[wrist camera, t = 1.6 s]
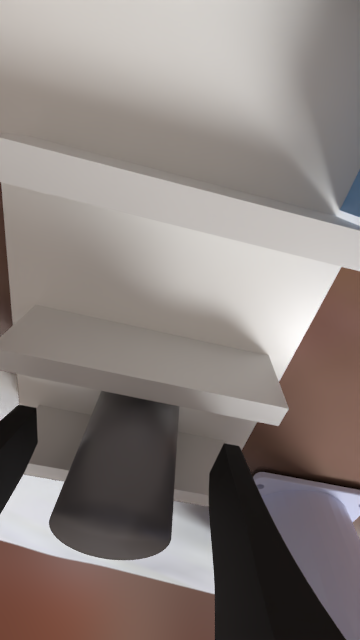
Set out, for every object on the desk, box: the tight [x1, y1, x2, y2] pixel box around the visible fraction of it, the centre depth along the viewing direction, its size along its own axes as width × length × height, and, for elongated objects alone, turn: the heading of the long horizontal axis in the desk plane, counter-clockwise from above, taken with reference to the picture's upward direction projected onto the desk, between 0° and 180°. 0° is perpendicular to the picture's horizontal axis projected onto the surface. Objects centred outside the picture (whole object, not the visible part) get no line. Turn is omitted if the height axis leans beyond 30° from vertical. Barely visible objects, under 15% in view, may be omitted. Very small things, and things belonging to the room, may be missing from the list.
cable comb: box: [0, 0, 360, 507], centre depth 9 cm, size 19×12×6 cm, turn 167°
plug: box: [49, 391, 179, 560], centre depth 11 cm, size 4×4×6 cm
